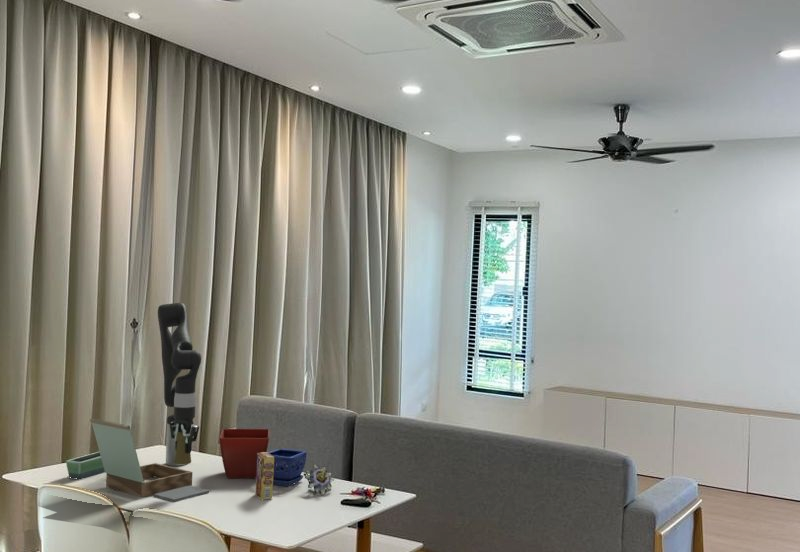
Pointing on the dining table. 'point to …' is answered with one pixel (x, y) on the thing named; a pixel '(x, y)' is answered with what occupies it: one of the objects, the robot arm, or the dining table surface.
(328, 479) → the passion flower
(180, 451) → the cork
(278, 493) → the dining table surface
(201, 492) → the mat
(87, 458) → the planter
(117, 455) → the lid
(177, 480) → the cold frame
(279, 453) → the flower pot
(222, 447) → the plant pot
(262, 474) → the candy box
